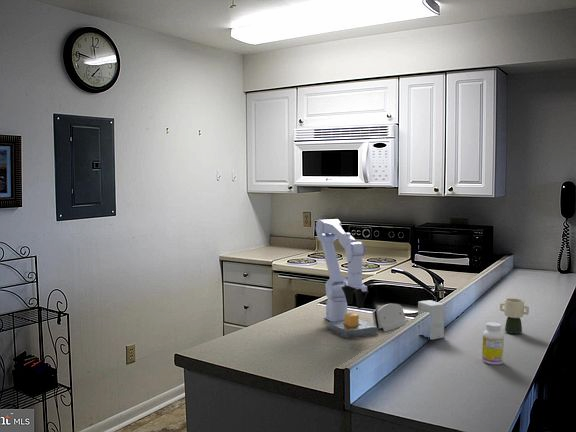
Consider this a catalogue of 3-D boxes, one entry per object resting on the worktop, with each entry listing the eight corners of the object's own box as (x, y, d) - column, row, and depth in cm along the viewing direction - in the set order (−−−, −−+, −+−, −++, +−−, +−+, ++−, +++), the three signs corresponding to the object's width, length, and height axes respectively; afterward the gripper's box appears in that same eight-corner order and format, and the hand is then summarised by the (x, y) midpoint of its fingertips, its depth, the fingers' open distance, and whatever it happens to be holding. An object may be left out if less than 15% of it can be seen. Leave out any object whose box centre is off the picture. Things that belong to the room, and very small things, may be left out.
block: (344, 331, 219) (344, 313, 218) (352, 330, 221) (353, 312, 220) (349, 333, 215) (350, 316, 215) (358, 332, 217) (358, 315, 217)
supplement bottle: (486, 357, 188) (487, 320, 187) (506, 361, 184) (507, 323, 183) (479, 362, 183) (480, 324, 182) (499, 366, 179) (500, 327, 178)
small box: (444, 337, 210) (444, 304, 209) (430, 340, 208) (431, 305, 207) (429, 332, 218) (430, 299, 217) (417, 334, 215) (417, 301, 214)
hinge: (384, 331, 218) (377, 306, 220) (375, 333, 222) (369, 308, 224) (410, 323, 229) (403, 300, 231) (401, 325, 233) (395, 302, 235)
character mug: (530, 333, 216) (531, 300, 215) (525, 337, 211) (526, 303, 210) (502, 328, 223) (503, 296, 222) (496, 332, 217) (497, 299, 216)
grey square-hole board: (327, 329, 221) (327, 322, 221) (357, 325, 228) (357, 318, 227) (346, 338, 209) (346, 331, 209) (377, 334, 215) (377, 326, 215)
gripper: (336, 270, 225) (336, 303, 226) (356, 276, 212) (356, 311, 213) (351, 268, 228) (351, 301, 229) (371, 274, 215) (371, 309, 216)
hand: (354, 305), depth 221 cm, fingers open, 7 cm apart
